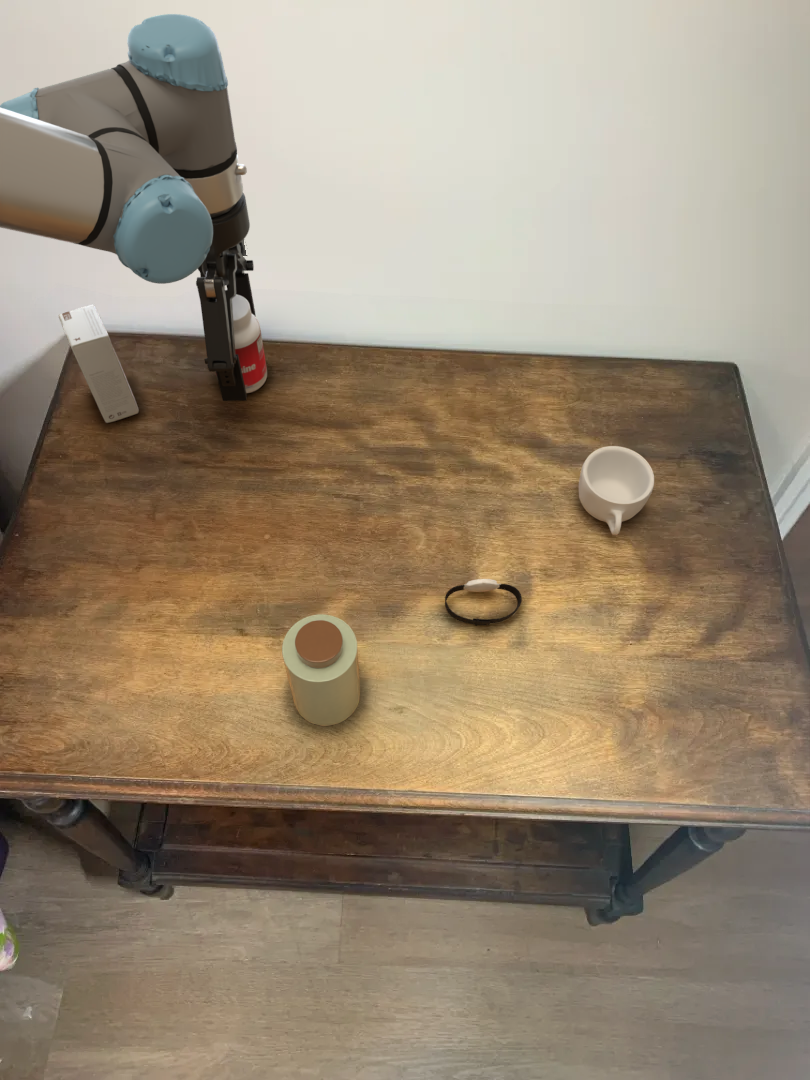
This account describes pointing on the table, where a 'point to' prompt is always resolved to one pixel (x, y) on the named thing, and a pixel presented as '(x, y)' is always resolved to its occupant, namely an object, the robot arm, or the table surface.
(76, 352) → the cosmetic box
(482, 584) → the watch
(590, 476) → the teacup
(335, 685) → the canister
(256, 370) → the pill bottle
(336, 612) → the table surface
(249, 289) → the robot arm
